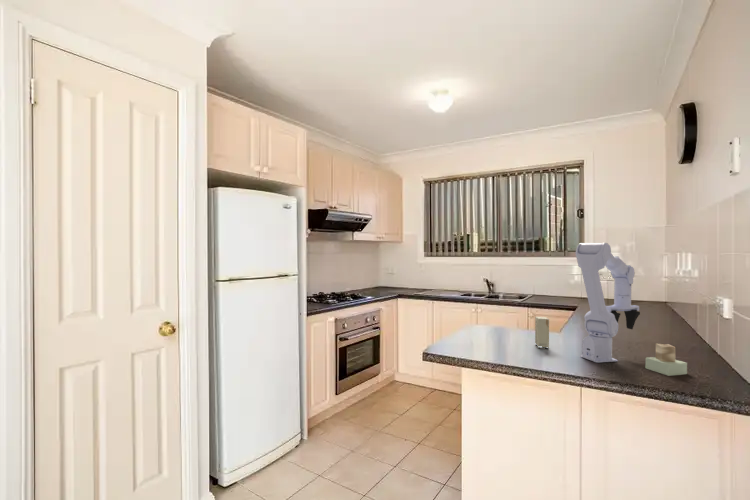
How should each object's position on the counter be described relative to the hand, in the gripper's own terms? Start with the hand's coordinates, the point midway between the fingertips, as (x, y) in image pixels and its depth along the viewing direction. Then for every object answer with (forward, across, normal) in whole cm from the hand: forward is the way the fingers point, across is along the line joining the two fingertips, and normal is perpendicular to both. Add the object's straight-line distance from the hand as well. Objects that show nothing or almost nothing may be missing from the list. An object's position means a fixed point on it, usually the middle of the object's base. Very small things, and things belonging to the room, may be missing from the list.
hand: (622, 329), depth 152 cm
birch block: (+6, +5, +22) cm, 23 cm away
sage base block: (+10, +5, +22) cm, 25 cm away
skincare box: (+10, +26, -14) cm, 31 cm away
